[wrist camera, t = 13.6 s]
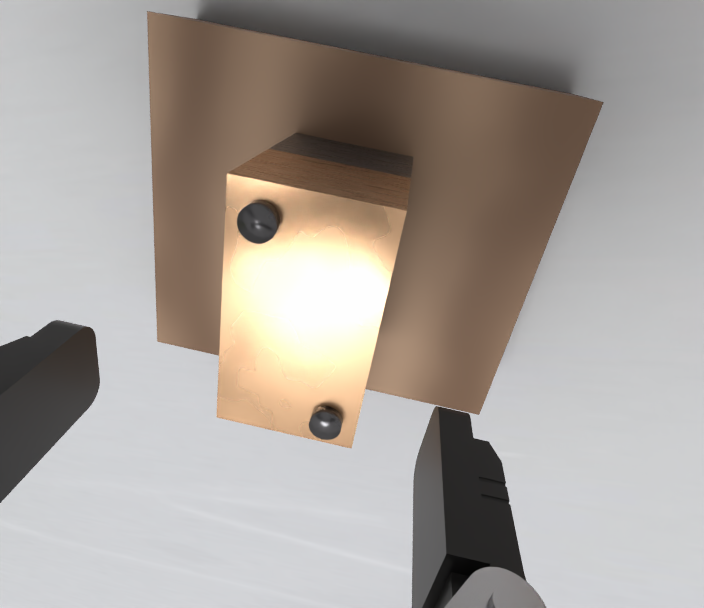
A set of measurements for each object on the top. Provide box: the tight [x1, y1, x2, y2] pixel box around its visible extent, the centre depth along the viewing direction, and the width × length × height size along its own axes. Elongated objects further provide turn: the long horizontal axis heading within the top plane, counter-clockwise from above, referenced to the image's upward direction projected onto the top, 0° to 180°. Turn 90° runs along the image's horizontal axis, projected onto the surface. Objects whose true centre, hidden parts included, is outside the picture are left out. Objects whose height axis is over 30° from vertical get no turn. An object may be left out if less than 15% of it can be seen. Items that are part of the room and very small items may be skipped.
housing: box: [217, 133, 414, 448], centre depth 16 cm, size 8×4×7 cm, turn 170°
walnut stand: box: [147, 11, 603, 415], centre depth 21 cm, size 16×14×4 cm
